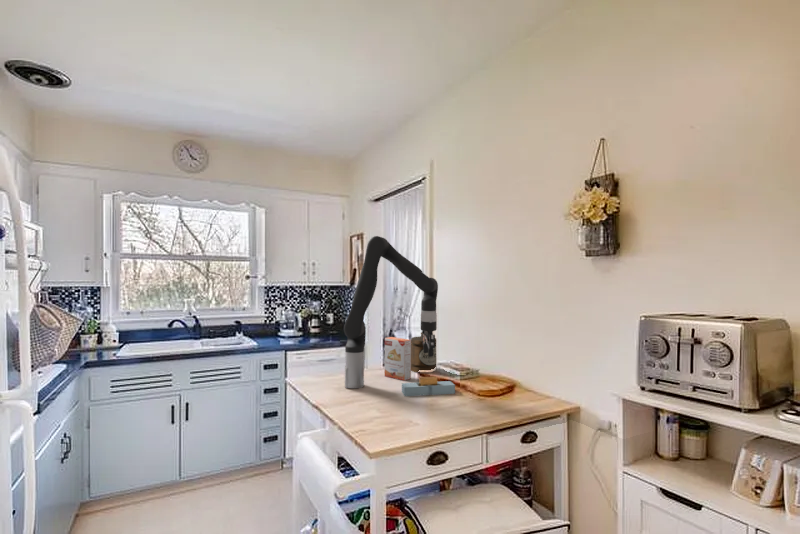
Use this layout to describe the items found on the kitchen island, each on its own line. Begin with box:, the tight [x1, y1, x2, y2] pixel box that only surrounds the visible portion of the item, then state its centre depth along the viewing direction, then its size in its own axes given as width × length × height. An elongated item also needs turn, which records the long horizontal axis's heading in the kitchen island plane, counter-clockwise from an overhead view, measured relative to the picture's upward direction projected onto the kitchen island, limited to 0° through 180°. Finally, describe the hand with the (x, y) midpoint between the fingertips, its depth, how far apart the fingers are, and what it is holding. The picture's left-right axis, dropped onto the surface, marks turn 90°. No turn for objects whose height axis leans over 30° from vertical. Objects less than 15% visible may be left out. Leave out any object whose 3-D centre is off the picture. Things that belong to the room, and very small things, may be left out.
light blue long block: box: [401, 380, 456, 397], centre depth 199 cm, size 24×7×4 cm, turn 102°
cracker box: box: [384, 336, 412, 381], centre depth 226 cm, size 14×6×21 cm, turn 50°
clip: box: [418, 376, 438, 386], centre depth 199 cm, size 8×3×6 cm, turn 102°
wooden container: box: [410, 331, 437, 373], centre depth 243 cm, size 15×15×22 cm
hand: (428, 354), depth 199 cm, fingers open, 8 cm apart
